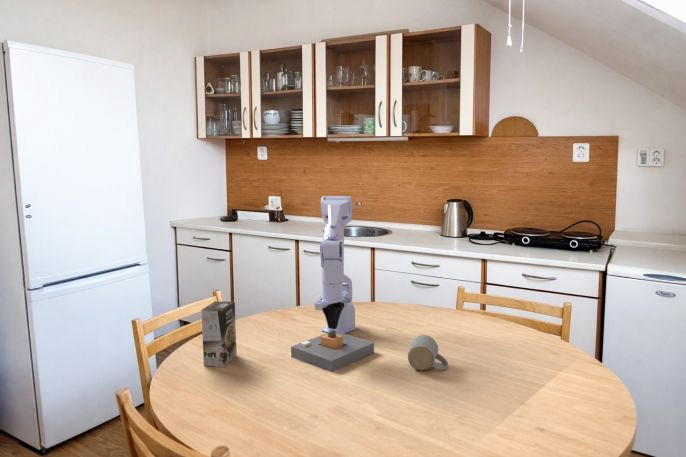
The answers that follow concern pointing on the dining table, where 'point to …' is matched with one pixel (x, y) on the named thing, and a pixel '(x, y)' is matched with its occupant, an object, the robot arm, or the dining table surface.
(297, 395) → the dining table surface
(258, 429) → the dining table surface
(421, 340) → the ceramic mug
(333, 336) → the plug
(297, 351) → the socket plate
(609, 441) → the dining table surface
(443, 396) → the dining table surface
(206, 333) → the coffee box
